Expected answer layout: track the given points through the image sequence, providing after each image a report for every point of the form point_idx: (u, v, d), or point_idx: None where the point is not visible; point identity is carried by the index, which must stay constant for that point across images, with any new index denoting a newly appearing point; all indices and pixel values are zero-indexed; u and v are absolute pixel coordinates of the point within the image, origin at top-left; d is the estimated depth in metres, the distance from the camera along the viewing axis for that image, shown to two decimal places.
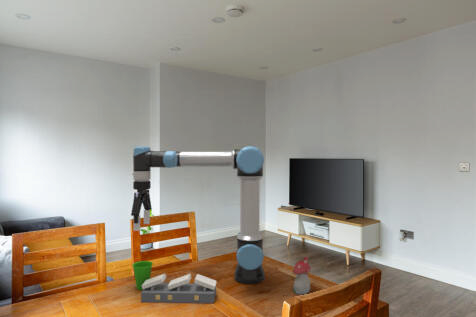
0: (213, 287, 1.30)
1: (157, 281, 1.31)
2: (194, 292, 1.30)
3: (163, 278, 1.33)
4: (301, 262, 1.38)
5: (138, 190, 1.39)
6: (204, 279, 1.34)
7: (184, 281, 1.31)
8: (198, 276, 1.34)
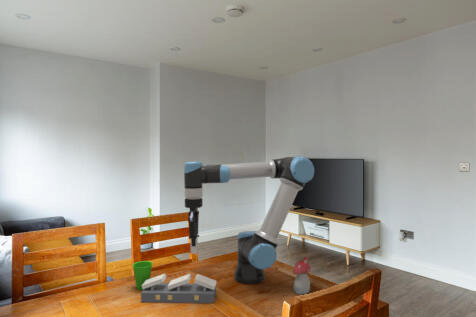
0: (213, 287, 1.30)
1: (157, 281, 1.31)
2: (194, 292, 1.30)
3: (163, 278, 1.33)
4: (301, 262, 1.38)
5: (191, 209, 1.30)
6: (204, 279, 1.34)
7: (184, 281, 1.31)
8: (198, 276, 1.34)
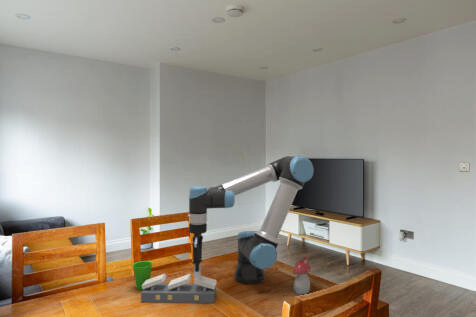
0: (213, 286, 1.30)
1: (157, 281, 1.31)
2: (194, 292, 1.30)
3: (163, 278, 1.33)
4: (301, 262, 1.38)
5: (195, 234, 1.30)
6: (204, 279, 1.34)
7: (184, 281, 1.31)
8: None
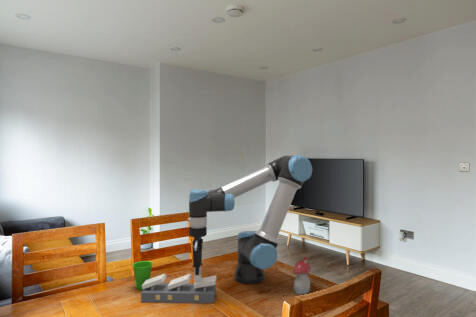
0: (213, 282, 1.30)
1: (157, 281, 1.31)
2: (194, 292, 1.30)
3: (163, 278, 1.33)
4: (301, 262, 1.38)
5: (195, 238, 1.30)
6: (203, 279, 1.34)
7: (184, 281, 1.31)
8: None
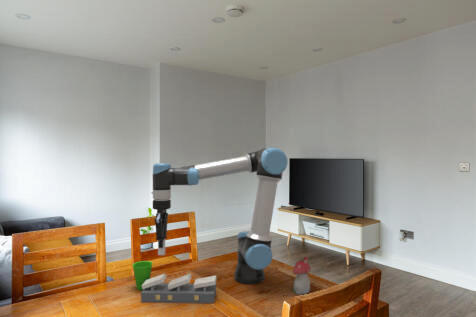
0: (213, 282, 1.30)
1: (157, 281, 1.31)
2: (194, 292, 1.30)
3: (163, 278, 1.33)
4: (301, 262, 1.38)
5: (158, 210, 1.30)
6: (203, 279, 1.34)
7: (184, 281, 1.31)
8: (197, 280, 1.34)
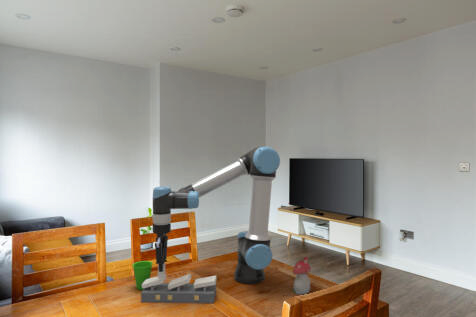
0: (213, 282, 1.30)
1: (157, 281, 1.31)
2: (194, 292, 1.30)
3: (163, 279, 1.33)
4: (301, 262, 1.38)
5: (158, 235, 1.30)
6: (203, 279, 1.34)
7: (184, 281, 1.31)
8: (197, 280, 1.34)
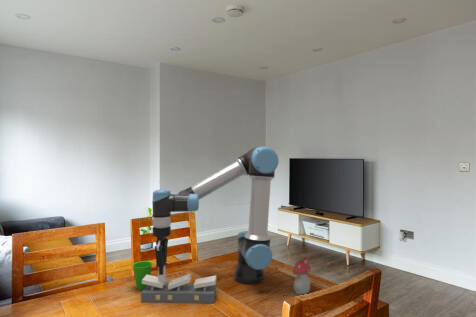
0: (213, 282, 1.30)
1: (158, 284, 1.31)
2: (194, 292, 1.30)
3: (163, 284, 1.33)
4: (301, 262, 1.38)
5: (158, 238, 1.30)
6: (203, 279, 1.34)
7: (184, 281, 1.31)
8: (197, 280, 1.34)
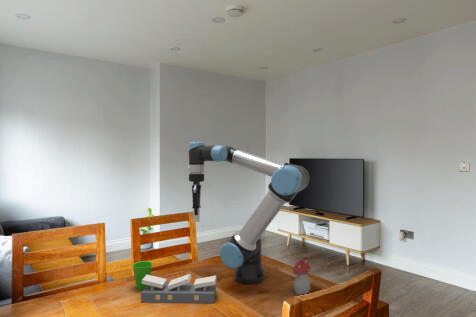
0: (213, 282, 1.30)
1: (158, 284, 1.31)
2: (194, 292, 1.30)
3: (163, 284, 1.33)
4: (301, 262, 1.38)
5: (194, 182, 1.50)
6: (203, 279, 1.34)
7: (184, 281, 1.31)
8: (197, 280, 1.34)
